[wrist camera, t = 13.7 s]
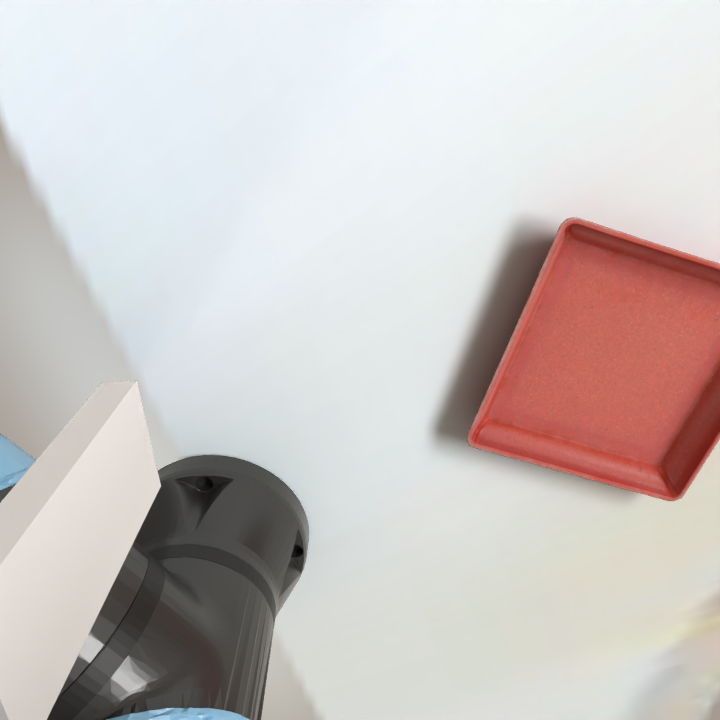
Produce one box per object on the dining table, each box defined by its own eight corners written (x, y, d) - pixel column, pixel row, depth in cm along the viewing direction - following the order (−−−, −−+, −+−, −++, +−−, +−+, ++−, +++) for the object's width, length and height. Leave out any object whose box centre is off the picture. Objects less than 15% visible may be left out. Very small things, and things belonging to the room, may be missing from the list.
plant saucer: (662, 482, 53) (681, 506, 50) (457, 424, 51) (463, 446, 48) (783, 279, 46) (813, 294, 43) (551, 203, 44) (565, 213, 41)
